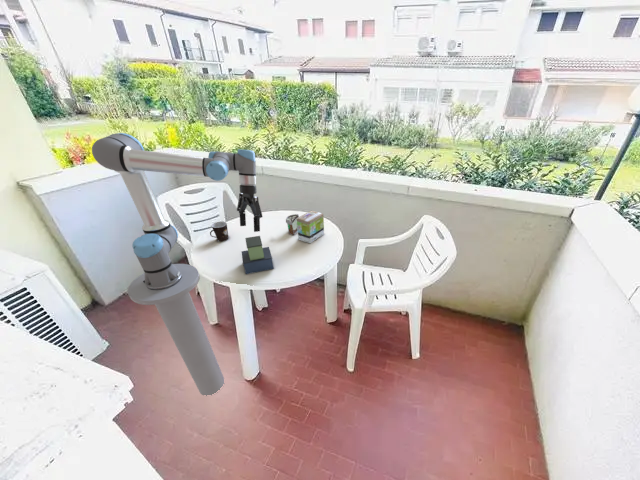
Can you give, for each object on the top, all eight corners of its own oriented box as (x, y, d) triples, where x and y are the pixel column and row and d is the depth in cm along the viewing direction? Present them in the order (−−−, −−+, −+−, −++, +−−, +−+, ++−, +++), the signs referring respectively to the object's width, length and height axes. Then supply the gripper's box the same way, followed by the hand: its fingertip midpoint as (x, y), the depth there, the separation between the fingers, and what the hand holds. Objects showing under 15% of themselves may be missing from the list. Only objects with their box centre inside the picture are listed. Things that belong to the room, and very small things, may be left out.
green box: (249, 260, 143) (246, 247, 139) (248, 251, 151) (245, 237, 147) (264, 258, 146) (262, 244, 141) (262, 248, 154) (259, 235, 149)
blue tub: (245, 274, 145) (242, 263, 141) (244, 262, 155) (241, 251, 151) (274, 268, 150) (272, 257, 146) (270, 257, 159) (268, 246, 155)
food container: (291, 226, 192) (289, 213, 186) (300, 227, 191) (298, 214, 185) (284, 235, 182) (282, 220, 176) (293, 236, 181) (291, 221, 175)
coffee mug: (227, 234, 181) (223, 220, 176) (232, 239, 176) (229, 224, 171) (208, 240, 175) (204, 225, 169) (213, 245, 170) (209, 230, 164)
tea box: (310, 243, 173) (309, 221, 164) (297, 239, 177) (295, 218, 168) (324, 234, 184) (323, 213, 175) (312, 230, 188) (310, 209, 179)
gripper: (269, 187, 129) (270, 233, 136) (242, 182, 144) (244, 223, 151) (254, 187, 123) (256, 234, 130) (227, 181, 138) (230, 224, 146)
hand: (249, 228), depth 141 cm, fingers open, 13 cm apart
